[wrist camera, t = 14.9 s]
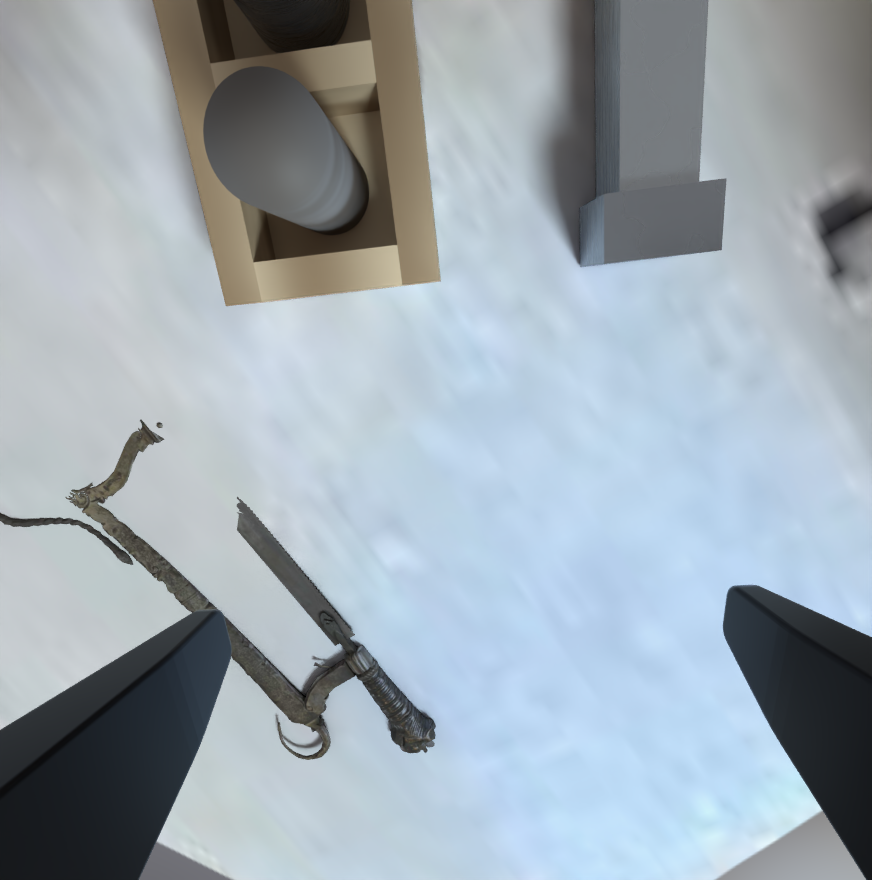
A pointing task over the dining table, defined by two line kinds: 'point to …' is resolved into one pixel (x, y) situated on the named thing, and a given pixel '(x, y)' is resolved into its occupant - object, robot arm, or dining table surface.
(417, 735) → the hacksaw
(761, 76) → the dining table surface
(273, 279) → the rack
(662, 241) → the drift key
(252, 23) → the grey metal cylinder
